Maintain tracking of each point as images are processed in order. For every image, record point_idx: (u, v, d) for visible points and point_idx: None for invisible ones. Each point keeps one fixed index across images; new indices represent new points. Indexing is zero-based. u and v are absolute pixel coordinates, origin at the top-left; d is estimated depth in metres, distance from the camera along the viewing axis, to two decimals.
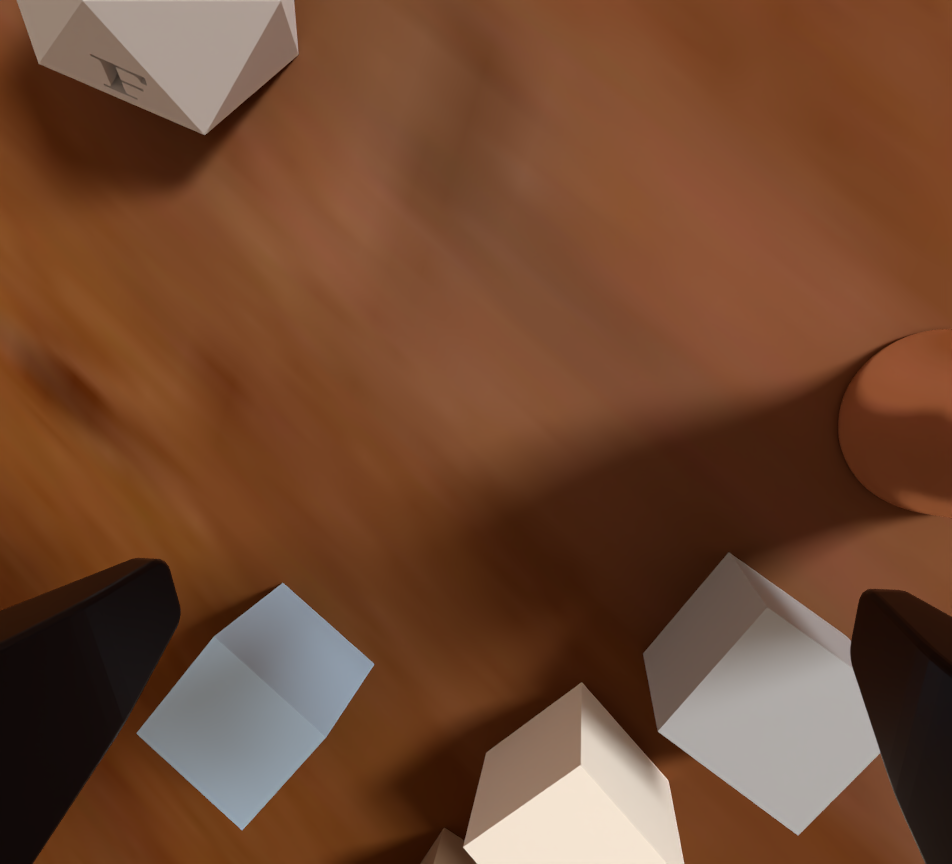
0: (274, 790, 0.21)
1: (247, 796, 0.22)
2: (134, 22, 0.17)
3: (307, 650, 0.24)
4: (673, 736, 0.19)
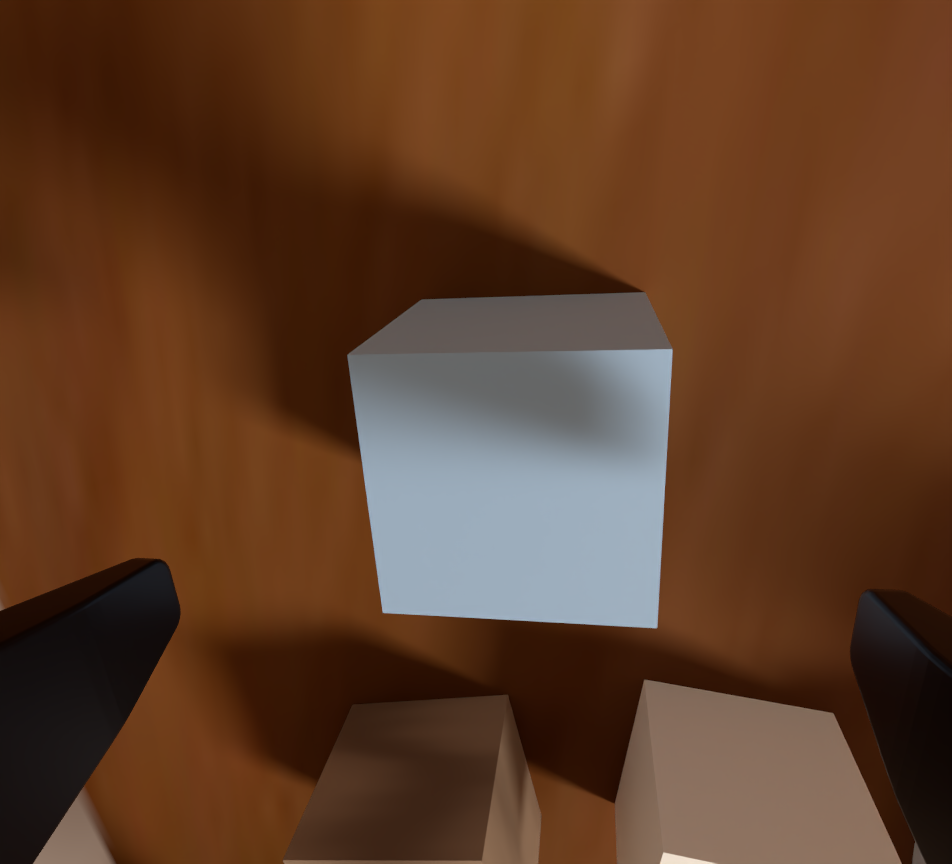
0: (492, 614, 0.12)
1: (441, 586, 0.11)
2: None
3: None
4: None
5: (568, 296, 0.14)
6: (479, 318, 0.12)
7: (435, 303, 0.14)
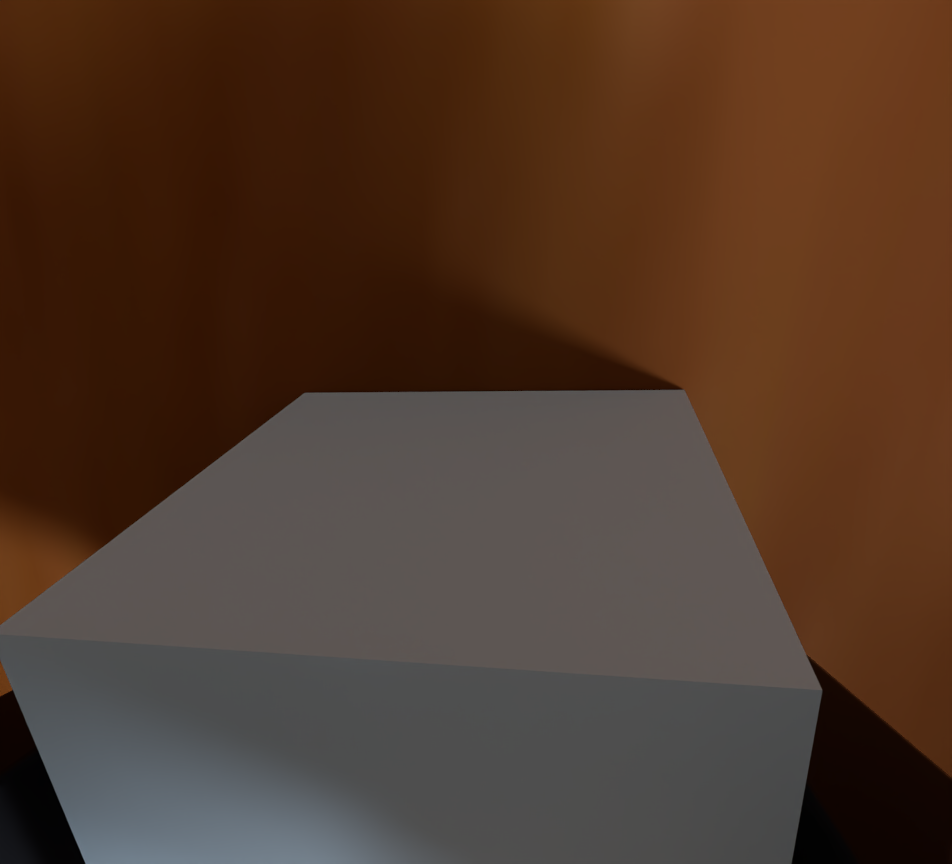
0: None
1: None
2: None
3: None
4: None
5: (549, 398, 0.08)
6: (369, 469, 0.06)
7: (317, 408, 0.08)
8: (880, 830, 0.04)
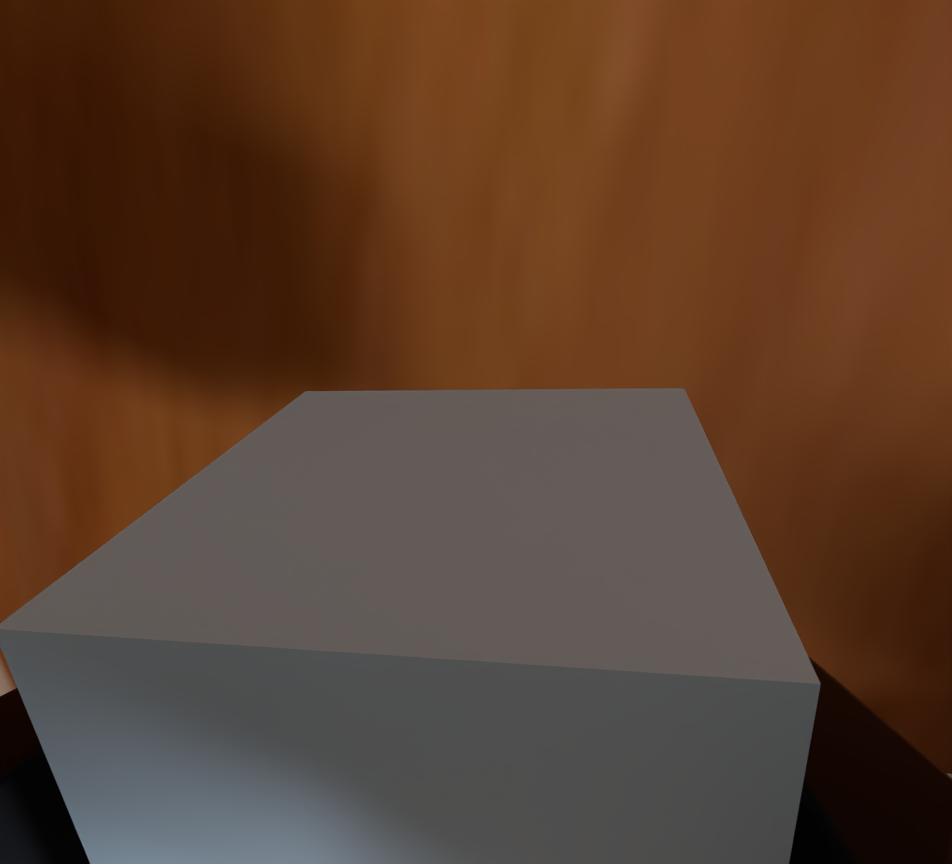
0: None
1: None
2: None
3: None
4: None
5: (550, 397, 0.08)
6: (370, 466, 0.06)
7: (318, 407, 0.08)
8: (880, 830, 0.04)
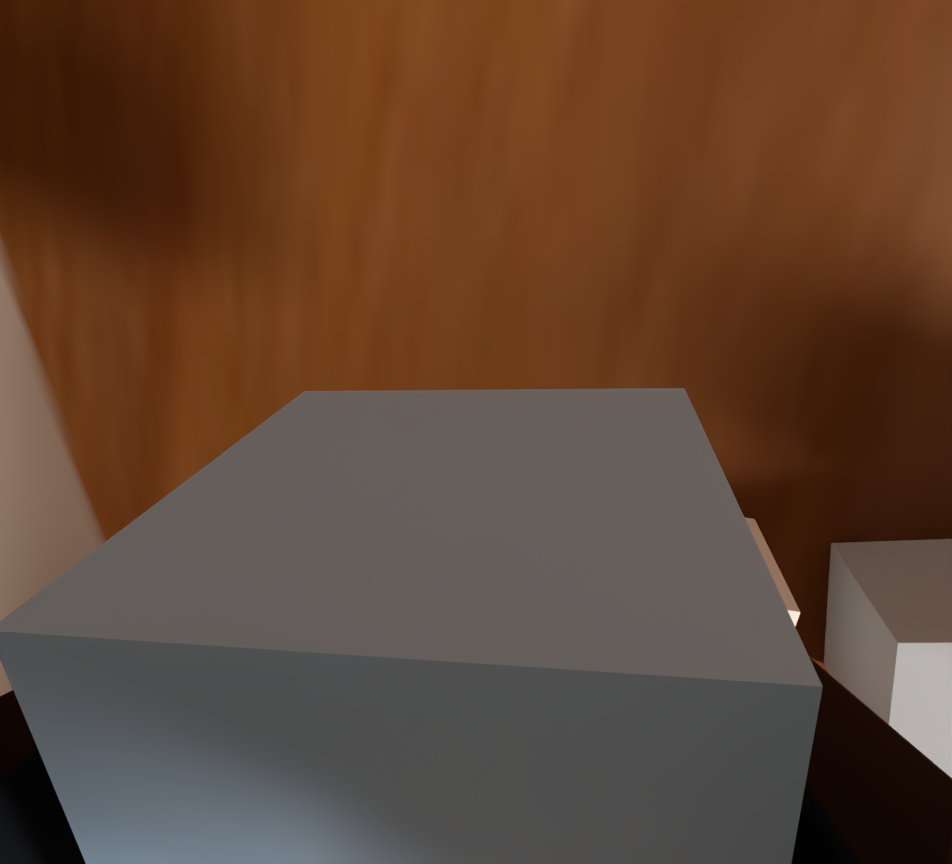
0: None
1: None
2: None
3: None
4: (902, 657, 0.17)
5: (549, 396, 0.08)
6: (369, 467, 0.06)
7: (317, 406, 0.08)
8: (880, 830, 0.04)
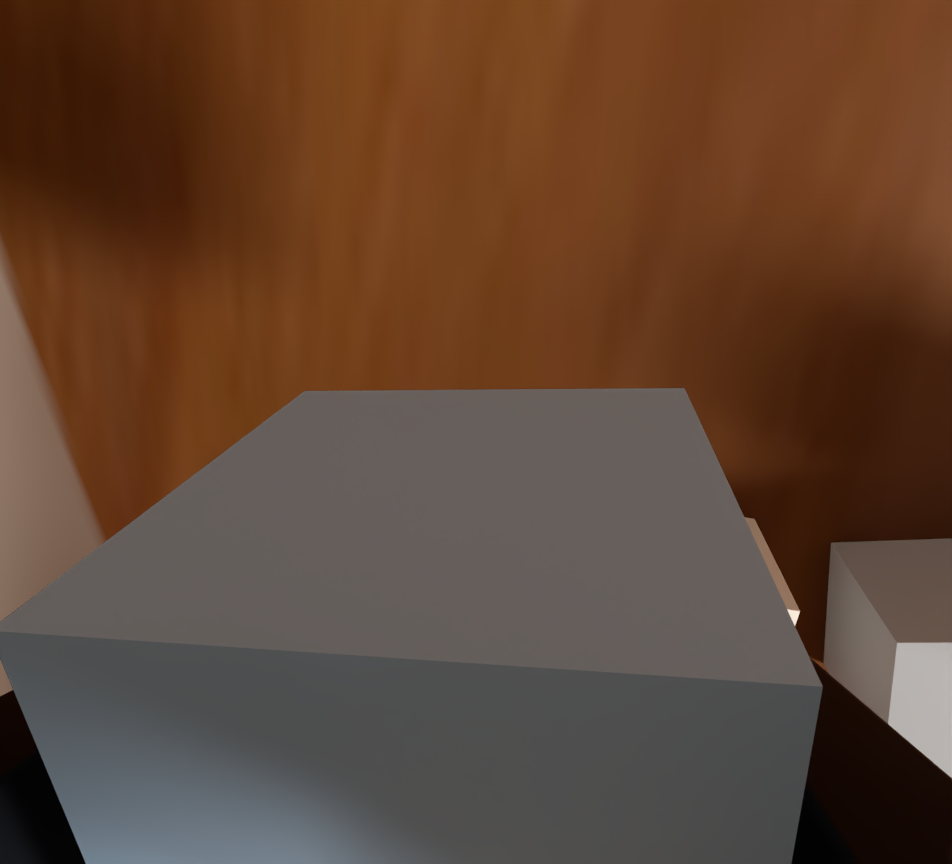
0: None
1: None
2: None
3: None
4: (902, 656, 0.17)
5: (549, 396, 0.08)
6: (369, 467, 0.06)
7: (317, 407, 0.08)
8: (880, 830, 0.04)
